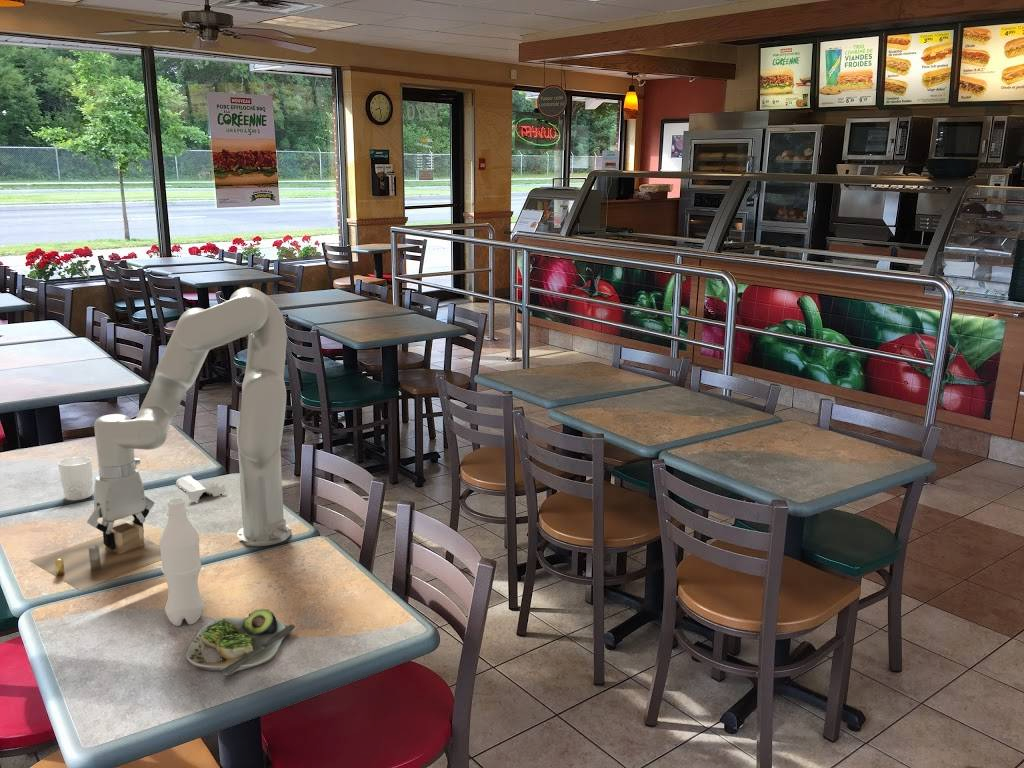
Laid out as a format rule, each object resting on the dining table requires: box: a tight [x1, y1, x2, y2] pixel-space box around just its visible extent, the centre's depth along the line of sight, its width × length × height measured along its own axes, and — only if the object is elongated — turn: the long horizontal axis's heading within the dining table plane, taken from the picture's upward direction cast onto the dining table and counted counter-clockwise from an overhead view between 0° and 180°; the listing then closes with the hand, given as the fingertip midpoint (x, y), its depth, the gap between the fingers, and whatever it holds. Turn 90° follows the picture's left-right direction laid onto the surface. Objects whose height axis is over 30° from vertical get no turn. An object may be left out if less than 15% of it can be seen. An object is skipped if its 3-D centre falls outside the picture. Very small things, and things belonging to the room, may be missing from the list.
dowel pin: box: [55, 558, 65, 577], centre depth 179 cm, size 2×2×4 cm
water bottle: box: [158, 497, 205, 627], centre depth 162 cm, size 7×7×25 cm
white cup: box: [57, 455, 94, 501], centre depth 224 cm, size 8×8×10 cm
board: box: [29, 535, 161, 592], centre depth 187 cm, size 22×22×6 cm
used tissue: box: [175, 475, 227, 504], centre depth 230 cm, size 11×18×4 cm, turn 31°
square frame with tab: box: [107, 520, 145, 554], centre depth 194 cm, size 10×6×4 cm, turn 53°
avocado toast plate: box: [185, 608, 296, 676], centre depth 154 cm, size 19×18×5 cm
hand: (124, 542), depth 193 cm, fingers closed on square frame with tab, 6 cm apart
